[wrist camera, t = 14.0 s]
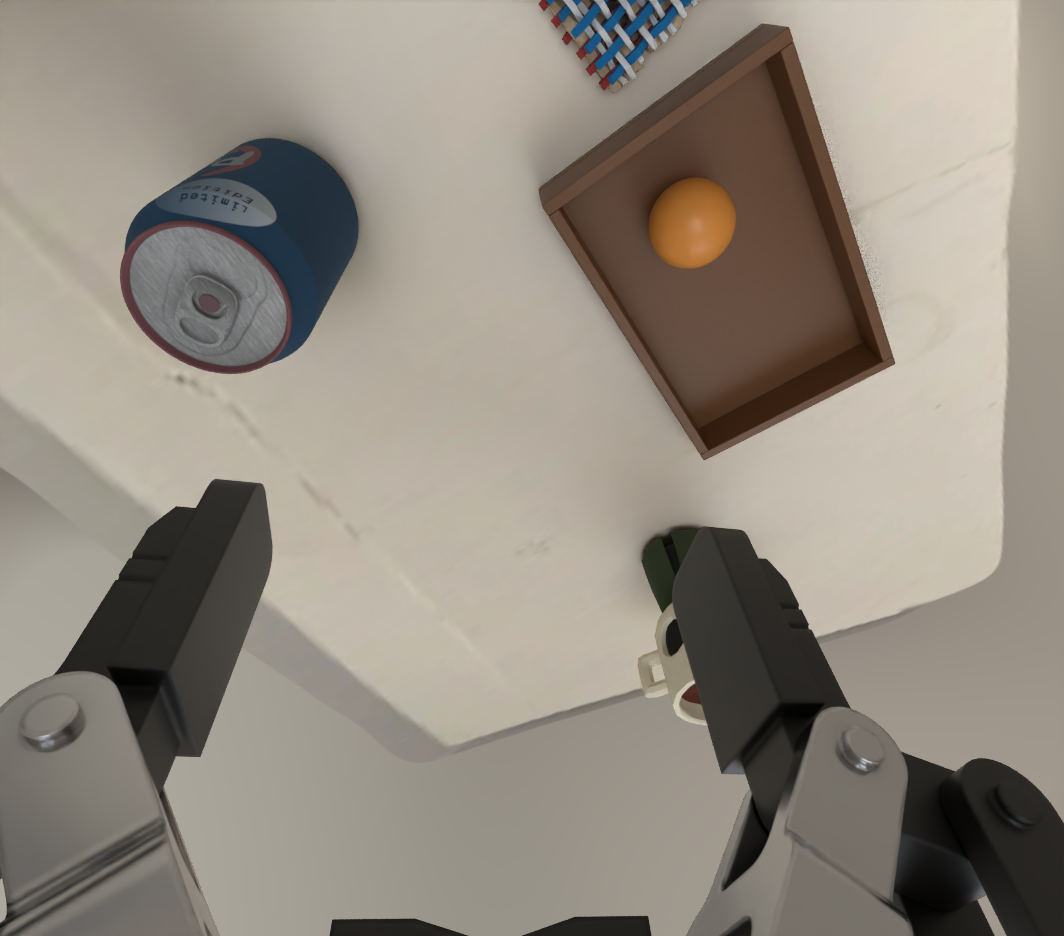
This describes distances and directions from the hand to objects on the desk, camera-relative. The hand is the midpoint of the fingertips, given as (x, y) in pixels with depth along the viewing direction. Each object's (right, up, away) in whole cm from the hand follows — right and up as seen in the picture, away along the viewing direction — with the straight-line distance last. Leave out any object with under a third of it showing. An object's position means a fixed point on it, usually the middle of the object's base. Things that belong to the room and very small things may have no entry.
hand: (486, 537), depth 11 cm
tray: (+12, +13, +23) cm, 29 cm away
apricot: (+9, +15, +20) cm, 26 cm away
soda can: (-11, +15, +20) cm, 27 cm away
